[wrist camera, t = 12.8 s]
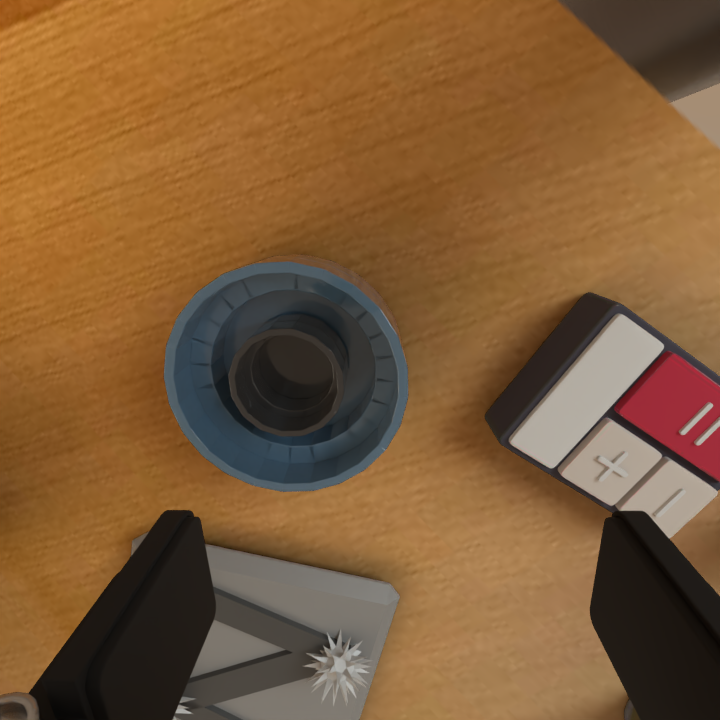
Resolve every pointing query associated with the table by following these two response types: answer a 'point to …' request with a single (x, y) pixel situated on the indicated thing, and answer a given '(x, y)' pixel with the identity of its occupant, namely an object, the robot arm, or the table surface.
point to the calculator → (617, 415)
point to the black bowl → (290, 376)
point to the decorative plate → (286, 641)
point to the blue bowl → (238, 323)
